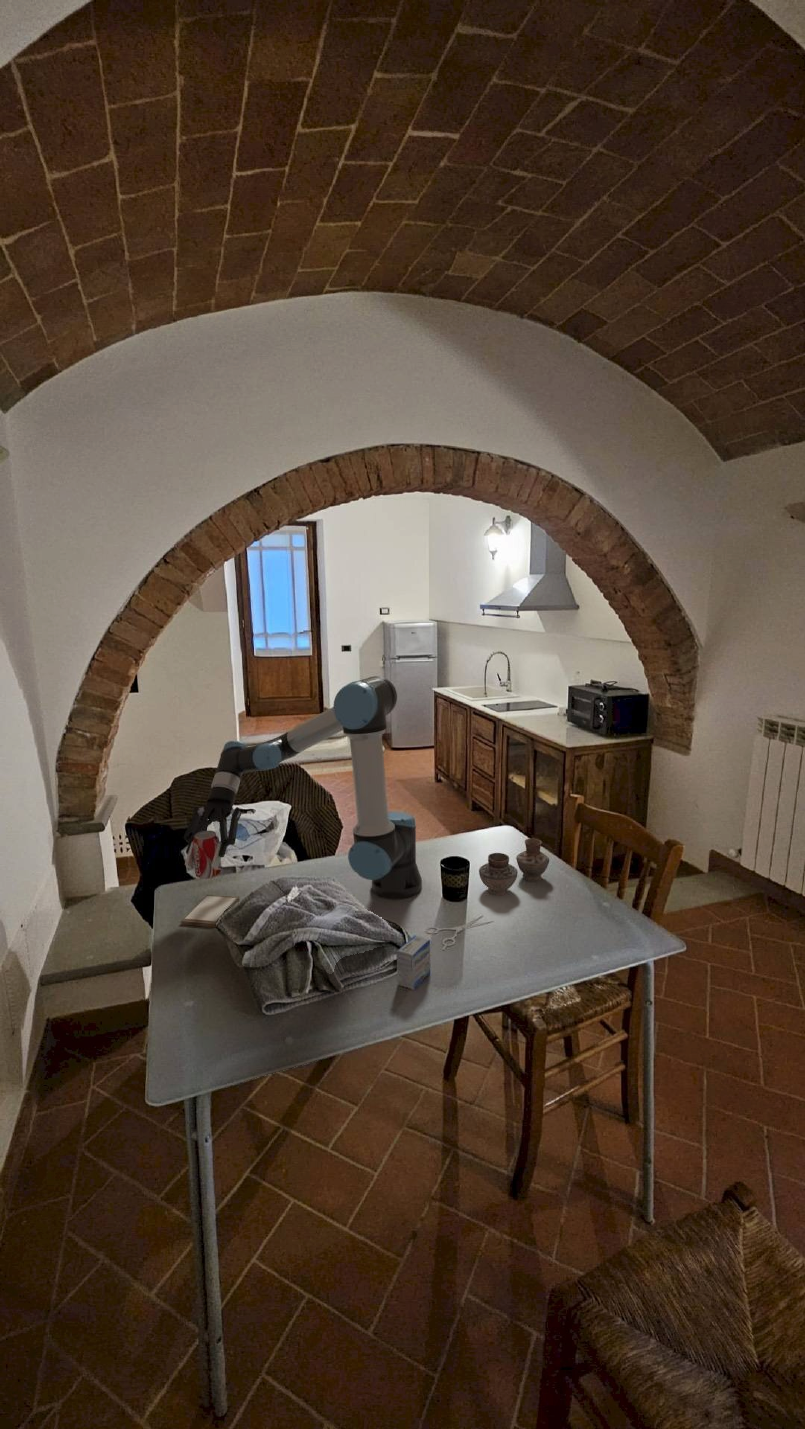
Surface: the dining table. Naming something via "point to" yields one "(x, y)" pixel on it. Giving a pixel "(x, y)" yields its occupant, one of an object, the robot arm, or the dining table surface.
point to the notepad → (209, 910)
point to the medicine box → (413, 962)
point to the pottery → (513, 868)
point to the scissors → (458, 929)
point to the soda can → (205, 854)
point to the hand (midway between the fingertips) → (201, 867)
